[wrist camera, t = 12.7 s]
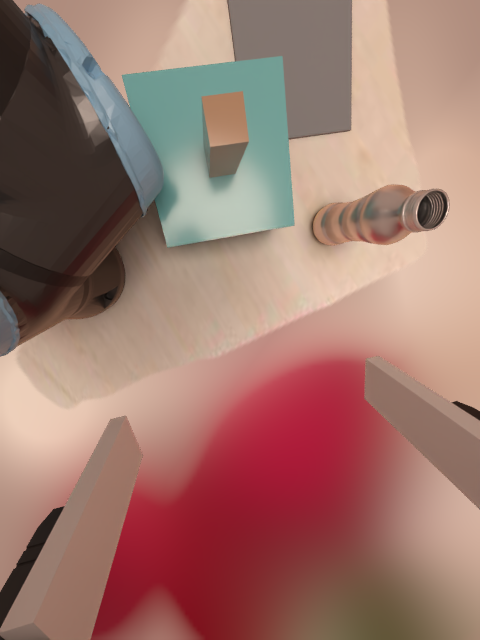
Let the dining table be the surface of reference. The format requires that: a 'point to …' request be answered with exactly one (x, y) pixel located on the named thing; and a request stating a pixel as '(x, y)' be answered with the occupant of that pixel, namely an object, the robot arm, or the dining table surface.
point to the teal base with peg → (217, 147)
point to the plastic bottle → (382, 216)
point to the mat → (302, 56)
